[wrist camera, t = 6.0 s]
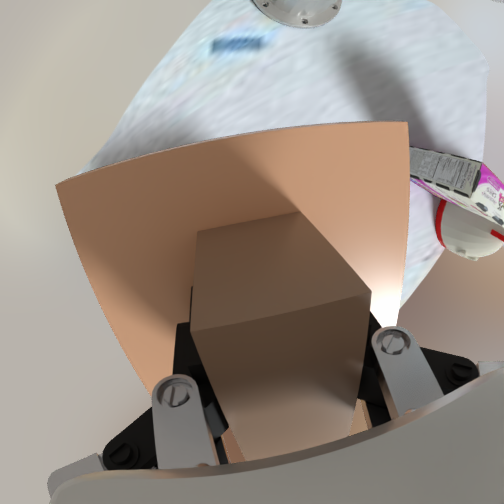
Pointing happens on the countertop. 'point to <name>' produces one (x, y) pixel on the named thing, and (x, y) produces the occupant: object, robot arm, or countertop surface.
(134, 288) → the lid
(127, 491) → the robot arm
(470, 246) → the kitchen timer
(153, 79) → the countertop surface
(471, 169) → the candy bar box
